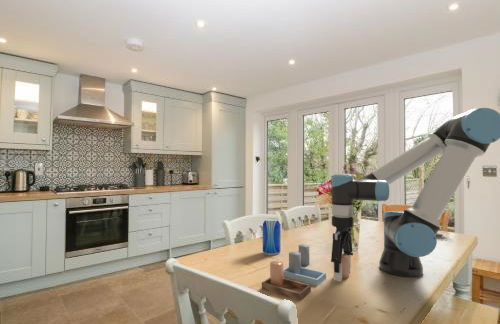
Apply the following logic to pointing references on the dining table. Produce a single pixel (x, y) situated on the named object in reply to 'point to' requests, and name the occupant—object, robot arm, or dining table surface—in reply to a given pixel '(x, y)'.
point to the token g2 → (304, 254)
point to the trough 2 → (306, 276)
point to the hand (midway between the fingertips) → (342, 276)
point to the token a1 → (276, 273)
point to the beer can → (271, 236)
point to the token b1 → (295, 262)
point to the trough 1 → (288, 288)
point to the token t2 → (345, 265)
